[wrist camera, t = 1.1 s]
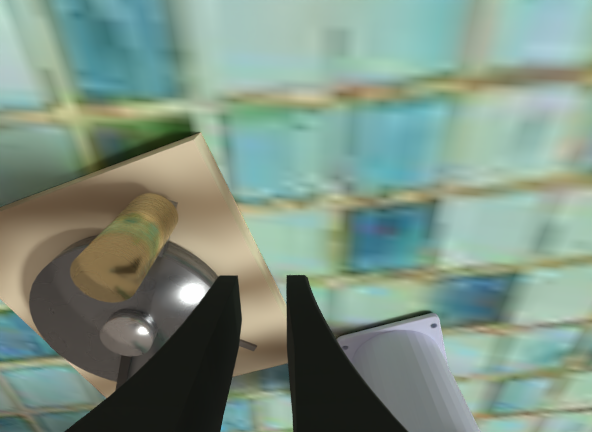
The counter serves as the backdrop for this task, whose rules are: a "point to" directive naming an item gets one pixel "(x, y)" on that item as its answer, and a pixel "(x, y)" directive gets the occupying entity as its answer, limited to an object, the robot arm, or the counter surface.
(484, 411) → the counter surface
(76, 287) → the metal pan with handle
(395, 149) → the counter surface
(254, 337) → the stand
